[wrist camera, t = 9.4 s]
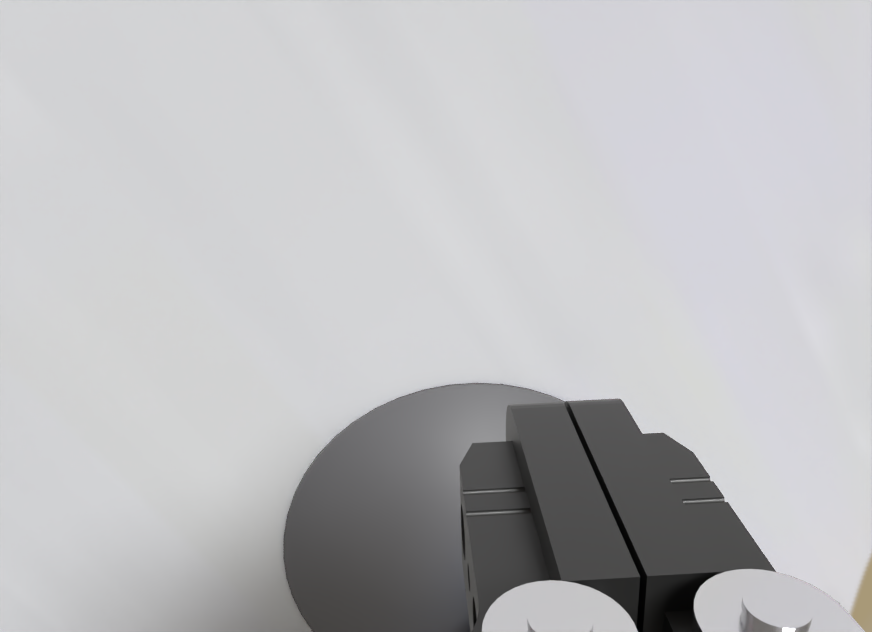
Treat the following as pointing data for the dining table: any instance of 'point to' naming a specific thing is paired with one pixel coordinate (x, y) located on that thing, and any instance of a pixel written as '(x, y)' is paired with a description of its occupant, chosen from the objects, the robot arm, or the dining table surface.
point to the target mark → (392, 513)
